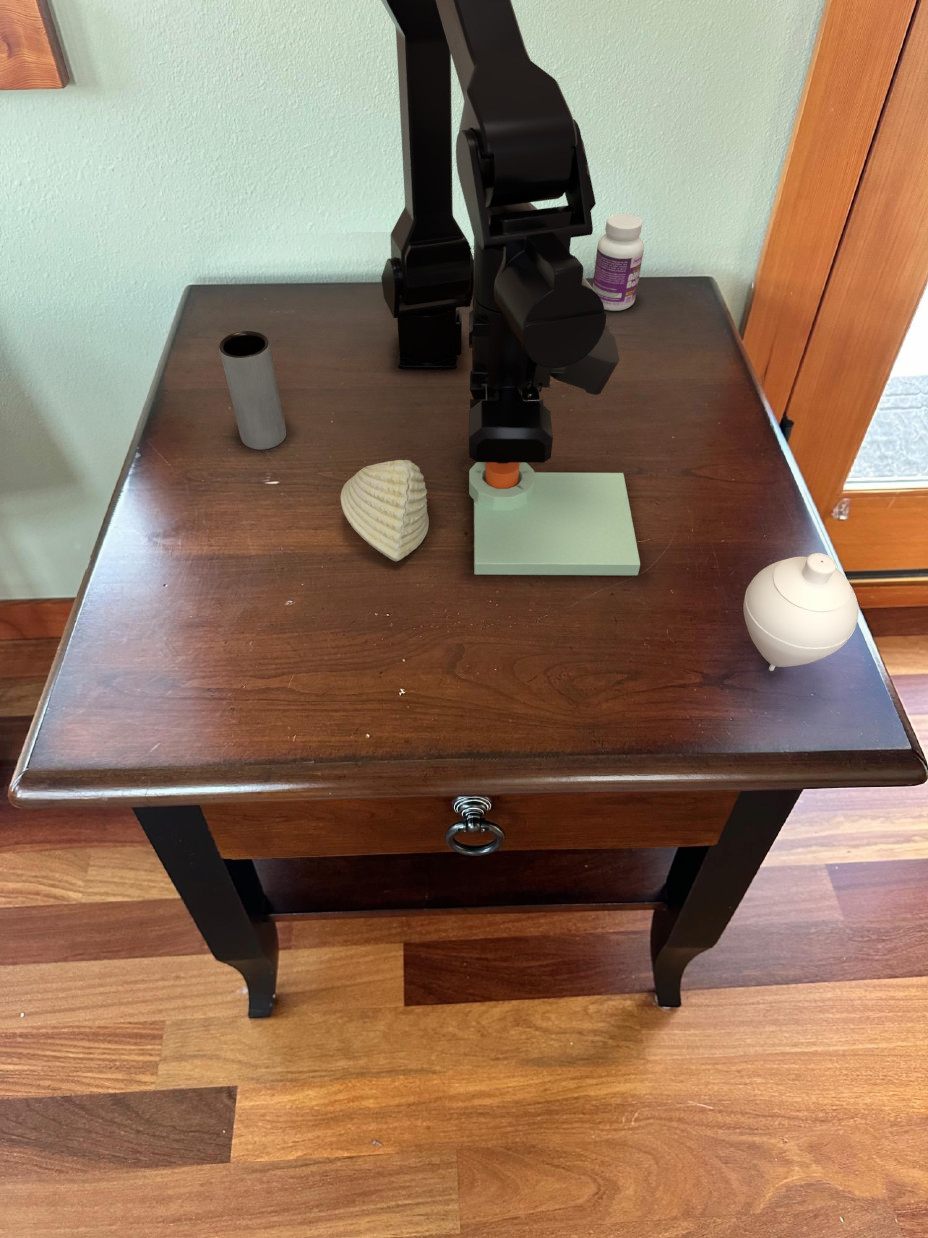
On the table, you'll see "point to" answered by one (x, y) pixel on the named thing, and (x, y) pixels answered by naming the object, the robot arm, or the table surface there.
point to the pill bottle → (619, 262)
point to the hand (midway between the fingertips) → (502, 460)
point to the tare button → (502, 475)
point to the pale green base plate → (553, 524)
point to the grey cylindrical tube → (253, 389)
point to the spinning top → (800, 610)
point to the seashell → (388, 507)
